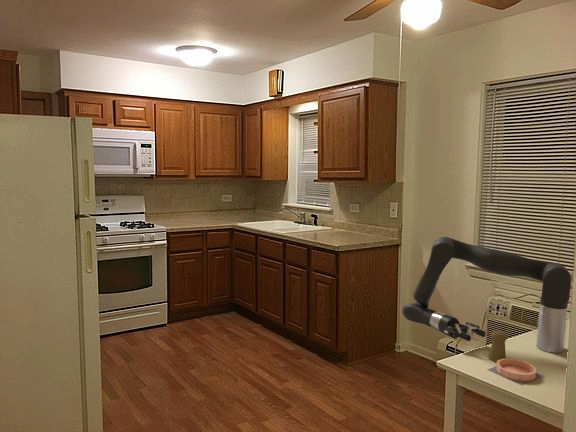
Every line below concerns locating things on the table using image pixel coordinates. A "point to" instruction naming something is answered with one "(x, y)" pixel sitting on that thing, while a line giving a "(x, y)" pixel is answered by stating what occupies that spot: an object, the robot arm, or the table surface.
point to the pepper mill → (498, 346)
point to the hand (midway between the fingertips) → (477, 336)
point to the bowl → (516, 369)
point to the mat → (515, 380)
